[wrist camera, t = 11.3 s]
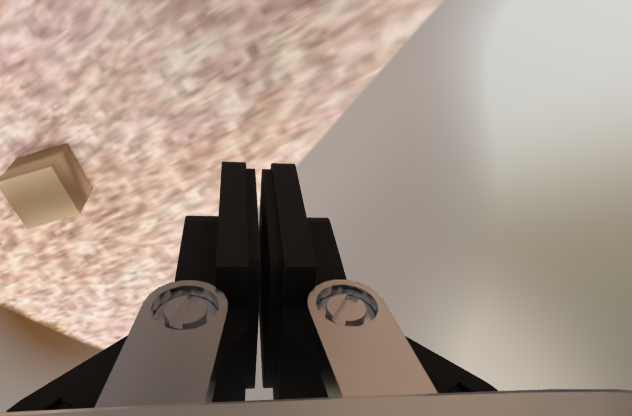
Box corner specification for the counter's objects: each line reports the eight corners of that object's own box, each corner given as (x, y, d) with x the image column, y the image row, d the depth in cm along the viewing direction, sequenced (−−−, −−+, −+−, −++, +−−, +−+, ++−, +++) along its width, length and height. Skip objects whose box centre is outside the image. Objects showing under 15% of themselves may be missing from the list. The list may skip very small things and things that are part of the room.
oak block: (17, 157, 39) (-5, 182, 35) (67, 142, 38) (51, 166, 35) (45, 201, 41) (27, 229, 37) (93, 187, 41) (80, 213, 37)
